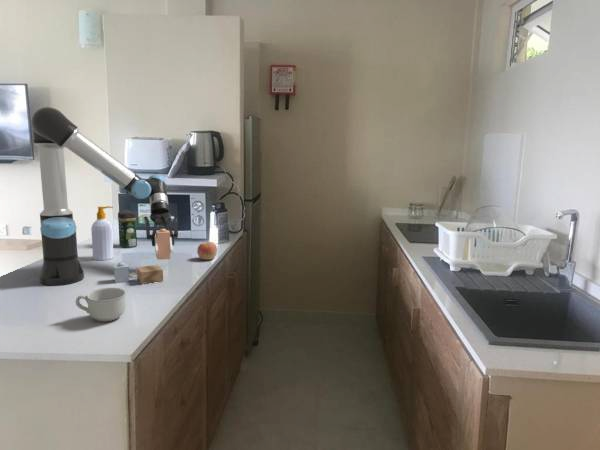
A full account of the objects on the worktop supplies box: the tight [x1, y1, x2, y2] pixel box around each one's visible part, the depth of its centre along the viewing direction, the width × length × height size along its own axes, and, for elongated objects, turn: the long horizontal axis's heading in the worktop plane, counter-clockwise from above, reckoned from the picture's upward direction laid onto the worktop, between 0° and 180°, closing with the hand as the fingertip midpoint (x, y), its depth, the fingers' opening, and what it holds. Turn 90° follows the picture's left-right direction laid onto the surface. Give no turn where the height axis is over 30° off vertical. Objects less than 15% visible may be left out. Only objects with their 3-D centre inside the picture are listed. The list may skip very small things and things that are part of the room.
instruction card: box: [129, 271, 137, 278], centre depth 184 cm, size 8×6×1 cm
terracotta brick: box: [155, 228, 171, 261], centre depth 186 cm, size 5×5×12 cm
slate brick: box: [113, 261, 130, 284], centre depth 175 cm, size 5×5×7 cm
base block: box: [136, 264, 164, 286], centre depth 176 cm, size 8×8×5 cm
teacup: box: [75, 287, 127, 323], centre depth 137 cm, size 14×11×8 cm
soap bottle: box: [90, 205, 114, 261], centre depth 206 cm, size 9×9×24 cm
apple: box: [196, 241, 218, 261], centre depth 209 cm, size 9×9×8 cm
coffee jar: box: [117, 209, 138, 249], centre depth 232 cm, size 10×8×19 cm
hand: (164, 251), depth 183 cm, fingers closed on terracotta brick, 5 cm apart
